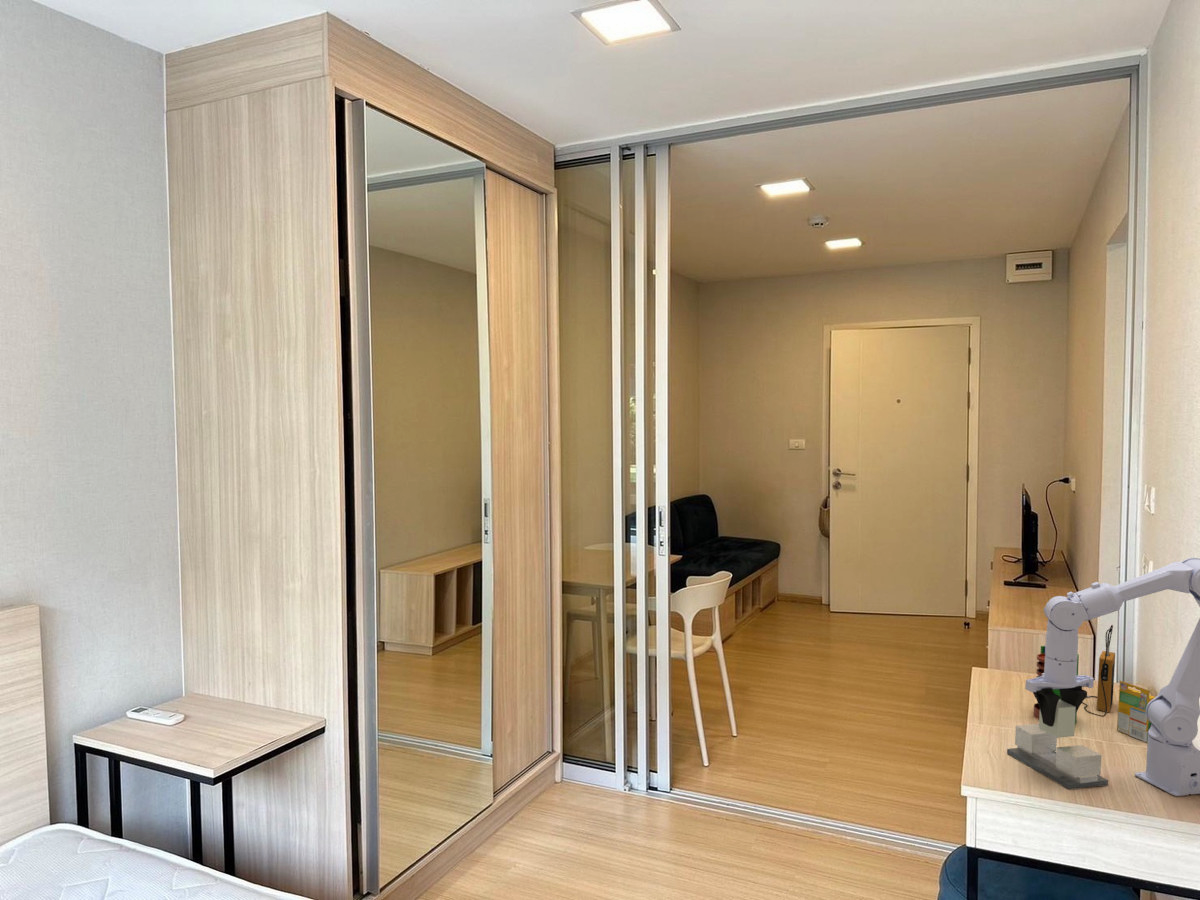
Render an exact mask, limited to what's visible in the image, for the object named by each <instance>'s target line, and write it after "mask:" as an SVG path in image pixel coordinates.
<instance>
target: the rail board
mask: <svg viewBox="0 0 1200 900" xmlns="http://www.w3.org/2000/svg"><path fill="white" fill-rule="evenodd" d="M1057 740H1058V738H1057V737H1055V736H1053V735H1051V734H1049V733H1047V732H1045V731H1043V730H1041V729H1039V723H1032V724H1031V723H1030V724H1021V725H1015V735H1014V745H1015V746H1017V747H1015V748H1014V747H1012V748H1007V749H1006V754H1007V755H1009V756H1010V757H1012V758H1014V759H1016V760H1018V761H1019V762H1021V763H1022V764H1024V765H1026V766H1028V767H1029V768H1031V769H1033V770H1035V771H1036V772H1037V773H1040V774H1042V775H1043V776H1045V777H1047V778H1048V779H1050V780H1051V781H1053V782H1055V783H1057V784H1058V785H1060V786H1062V787H1063V788H1065V789H1067V790H1076V789H1077V790H1078V789H1084V788H1085V787H1087V788H1093V787H1094V786H1096V787H1103V786H1108V785H1109V779H1107V778H1106V777H1103V776H1102V775H1101V770H1102V769H1101V768H1102V754H1101V753H1098V752H1097V751H1095V750H1093V749H1091V748H1089V747H1086V746H1085V745H1084V744H1080V745H1079V744H1078V745H1068V746H1057V745H1058V744H1057V742H1058V741H1057Z"/></svg>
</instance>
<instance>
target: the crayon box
mask: <svg viewBox="0 0 1200 900" xmlns="http://www.w3.org/2000/svg"><path fill="white" fill-rule="evenodd" d="M1133 688H1134V689H1133ZM1155 697H1156V696H1155V695H1151V694H1150V690H1149V689H1146V688H1144V687H1141V686H1138V685H1134V684H1131V683H1129V682H1125V681H1123V680H1119V690H1118V704H1117V705H1118V708H1117V719H1116V720H1117V721H1116V731H1117V732H1119V733H1123V734H1125V735H1128V736H1130V737H1132V738H1135V739H1137V740H1140V741H1143V742H1144V743H1148V731H1149V729H1150V727H1151V724H1152V723H1151V722H1150V721H1149V720H1148V718H1147V716H1146V706H1147V704H1148V703H1149V702H1150V701H1151V700H1153V699H1154V698H1155Z"/></svg>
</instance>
